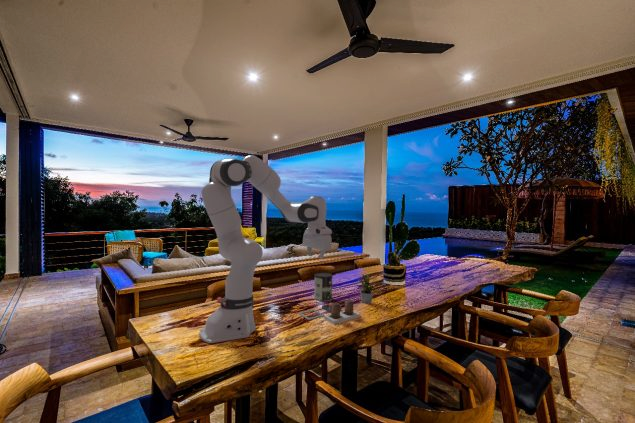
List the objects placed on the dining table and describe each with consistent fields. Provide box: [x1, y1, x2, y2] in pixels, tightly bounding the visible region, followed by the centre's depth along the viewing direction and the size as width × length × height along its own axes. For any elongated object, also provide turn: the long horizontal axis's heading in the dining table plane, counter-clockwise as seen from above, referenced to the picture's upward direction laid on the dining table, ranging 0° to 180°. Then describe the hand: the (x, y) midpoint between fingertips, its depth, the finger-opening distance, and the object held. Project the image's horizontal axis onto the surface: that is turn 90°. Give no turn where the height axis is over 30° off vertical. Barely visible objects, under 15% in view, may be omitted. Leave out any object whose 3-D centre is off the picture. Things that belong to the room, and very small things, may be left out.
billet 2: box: [344, 299, 354, 316], centre depth 140 cm, size 4×4×7 cm
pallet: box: [323, 310, 361, 325], centre depth 138 cm, size 16×7×2 cm, turn 125°
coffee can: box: [313, 272, 333, 302], centre depth 169 cm, size 10×10×14 cm
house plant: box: [355, 273, 379, 306], centre depth 164 cm, size 14×14×16 cm
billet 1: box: [330, 302, 341, 319], centre depth 136 cm, size 4×4×7 cm
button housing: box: [321, 303, 342, 314], centre depth 150 cm, size 7×7×2 cm
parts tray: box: [298, 309, 326, 321], centre depth 141 cm, size 9×9×2 cm
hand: (315, 257), depth 146 cm, fingers open, 8 cm apart
